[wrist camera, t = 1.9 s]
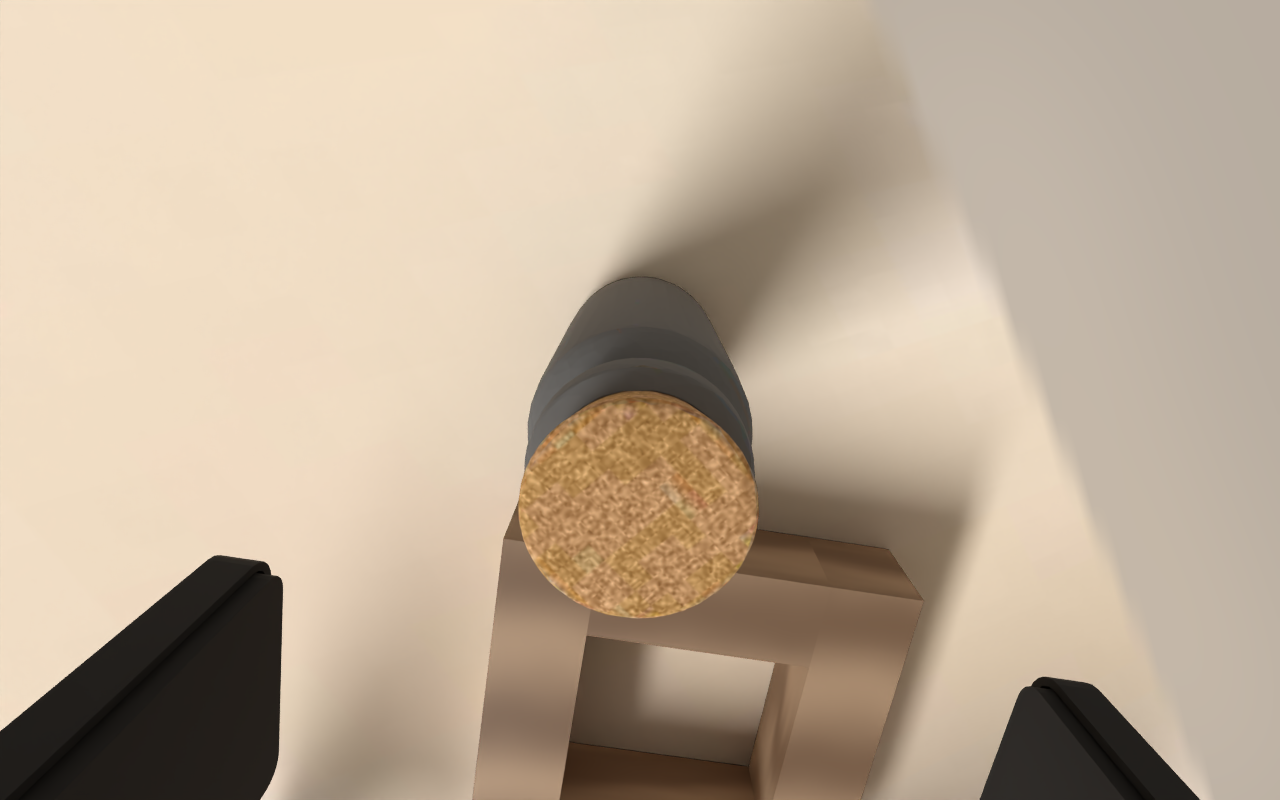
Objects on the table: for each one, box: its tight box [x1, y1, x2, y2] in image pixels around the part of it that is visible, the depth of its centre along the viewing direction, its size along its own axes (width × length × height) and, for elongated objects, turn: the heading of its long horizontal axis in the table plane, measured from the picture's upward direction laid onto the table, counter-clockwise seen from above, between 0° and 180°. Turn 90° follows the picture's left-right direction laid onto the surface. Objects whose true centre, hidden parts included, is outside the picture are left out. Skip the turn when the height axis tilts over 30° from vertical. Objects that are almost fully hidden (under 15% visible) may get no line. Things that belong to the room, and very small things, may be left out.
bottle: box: [518, 277, 759, 618], centre depth 21 cm, size 6×6×15 cm
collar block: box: [472, 501, 924, 800], centre depth 30 cm, size 16×16×4 cm
